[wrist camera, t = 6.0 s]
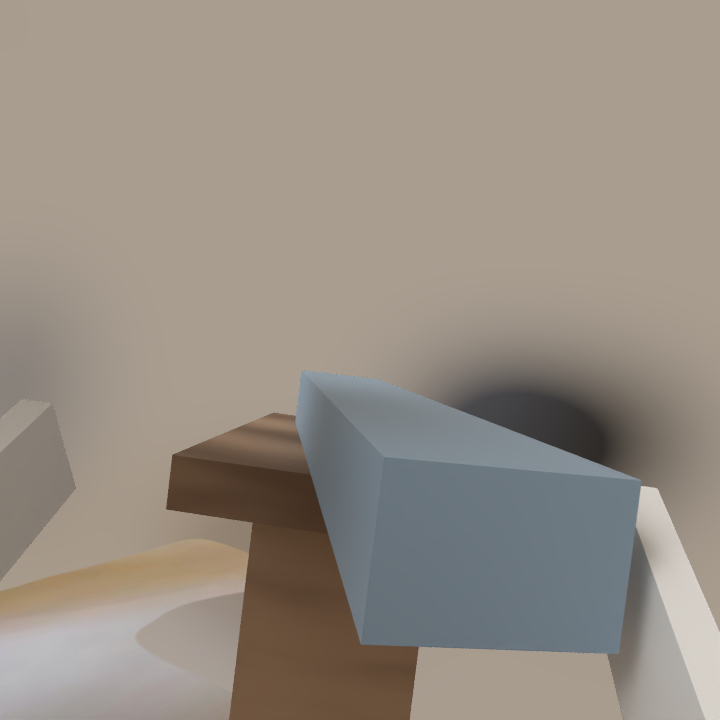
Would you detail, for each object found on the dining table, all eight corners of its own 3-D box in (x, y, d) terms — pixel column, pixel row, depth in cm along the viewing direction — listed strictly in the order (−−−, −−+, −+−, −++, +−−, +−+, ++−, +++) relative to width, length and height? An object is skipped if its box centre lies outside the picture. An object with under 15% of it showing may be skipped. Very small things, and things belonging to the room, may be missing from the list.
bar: (295, 421, 33) (301, 370, 33) (371, 429, 33) (377, 378, 33) (361, 644, 9) (384, 456, 9) (619, 654, 10) (641, 480, 10)
